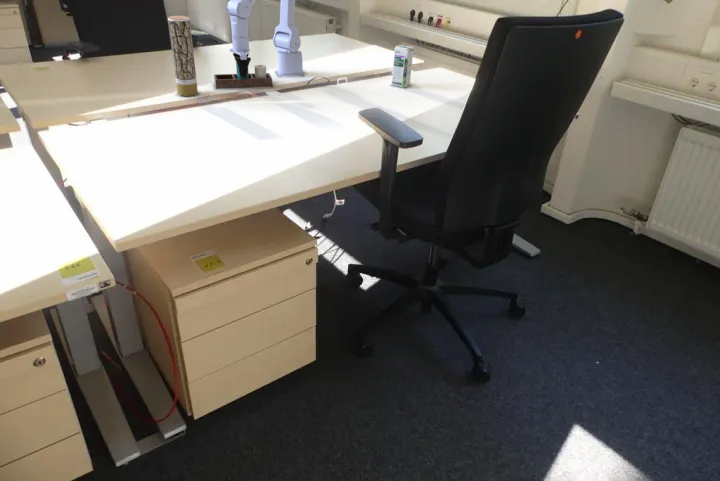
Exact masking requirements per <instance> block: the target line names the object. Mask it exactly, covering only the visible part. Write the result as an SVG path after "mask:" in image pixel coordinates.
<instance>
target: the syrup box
mask: <svg viewBox="0 0 720 481" xmlns="http://www.w3.org/2000/svg"><path fill="white" fill-rule="evenodd" d="M393 50H394V51H393V64H392V75H391V76H392V77H391V83H390V84H391V86H393V87H399V88H406V87H408V86H410V84H411V77H412V66H413V57H414V46H409V45H408V46H407V45H403V44H398V45H396V46H395V47H394V49H393Z"/></svg>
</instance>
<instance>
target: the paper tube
mask: <svg viewBox="0 0 720 481" xmlns="http://www.w3.org/2000/svg"><path fill="white" fill-rule="evenodd" d="M190 18H191V17H190V16H187V15H171V16H167V22H168V31H169V38H170V45H171V51H172V52H171V54H172V62H173V68H174V77H175V83H176V84H175V85H176V90H177V94H178V95H179V96H182V97H193V96H196V95H197V94H198V92H199V91H198V82H197V72H196V63H195V55H194V53H195V52H194V44H193V36H192V27H191V26H192V25H191V19H190Z"/></svg>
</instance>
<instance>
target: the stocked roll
mask: <svg viewBox="0 0 720 481" xmlns="http://www.w3.org/2000/svg"><path fill="white" fill-rule="evenodd" d="M254 73H255V78H267V76H266V73H267V66H266V65H265V64H256V65H254Z"/></svg>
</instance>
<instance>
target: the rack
mask: <svg viewBox="0 0 720 481" xmlns="http://www.w3.org/2000/svg"><path fill="white" fill-rule="evenodd" d="M266 76H267V78H255V72H254V73H249V79H237V73H222V74H219V73H218V74H213V81H214V85H215V86H214V87H215V89H216V90H217V89H220V90H221V89H243V88H245V89H247V88H272V87H273V77H272V76H271V74H270V73H269V72H266Z"/></svg>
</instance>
